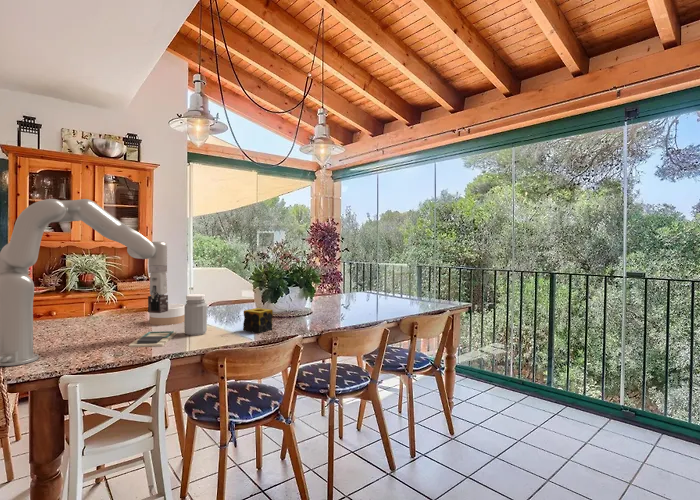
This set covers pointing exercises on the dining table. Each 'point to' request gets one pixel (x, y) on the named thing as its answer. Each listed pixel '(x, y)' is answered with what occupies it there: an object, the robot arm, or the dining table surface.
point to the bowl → (168, 315)
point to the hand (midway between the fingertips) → (157, 308)
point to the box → (162, 304)
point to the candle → (257, 320)
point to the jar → (195, 315)
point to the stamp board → (153, 339)
